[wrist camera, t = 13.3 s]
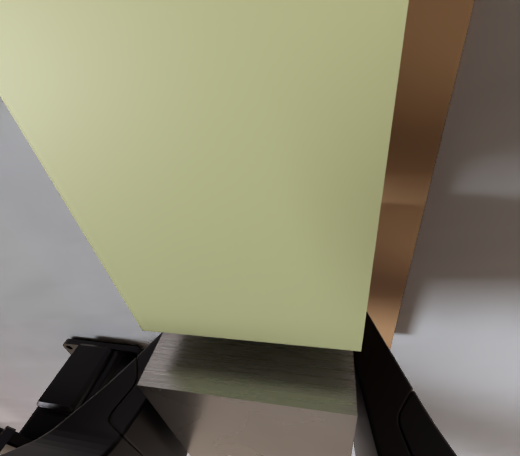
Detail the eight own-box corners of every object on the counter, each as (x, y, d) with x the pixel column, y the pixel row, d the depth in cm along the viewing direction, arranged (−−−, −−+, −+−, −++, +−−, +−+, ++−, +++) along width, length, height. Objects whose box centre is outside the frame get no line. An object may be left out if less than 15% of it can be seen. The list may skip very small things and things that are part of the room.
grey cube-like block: (338, 330, 12) (344, 498, 8) (240, 322, 12) (200, 469, 9) (344, 228, 9) (357, 416, 5) (215, 227, 10) (136, 385, 6)
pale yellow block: (345, 177, 9) (361, 351, 5) (226, 180, 10) (142, 330, 6) (355, -27, 7) (420, -89, 2) (188, 2, 7) (-54, 8, 3)
